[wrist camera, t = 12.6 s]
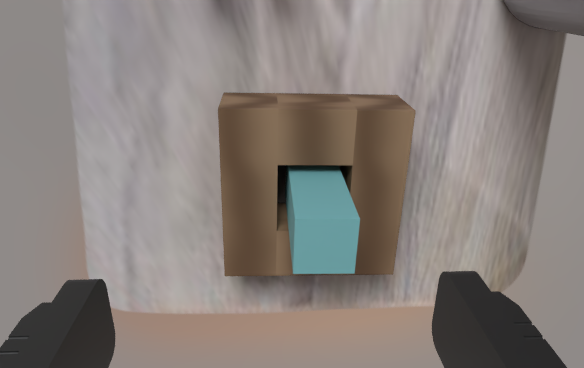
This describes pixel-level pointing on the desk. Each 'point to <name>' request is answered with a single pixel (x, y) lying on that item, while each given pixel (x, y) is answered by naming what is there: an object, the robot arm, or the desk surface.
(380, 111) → the socket block
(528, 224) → the desk surface
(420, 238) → the desk surface
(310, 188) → the peg
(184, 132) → the desk surface
